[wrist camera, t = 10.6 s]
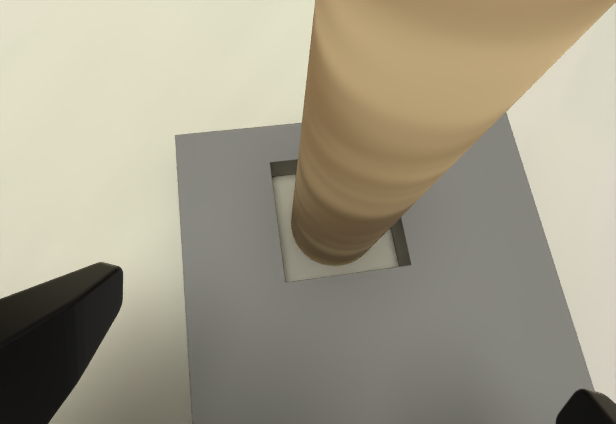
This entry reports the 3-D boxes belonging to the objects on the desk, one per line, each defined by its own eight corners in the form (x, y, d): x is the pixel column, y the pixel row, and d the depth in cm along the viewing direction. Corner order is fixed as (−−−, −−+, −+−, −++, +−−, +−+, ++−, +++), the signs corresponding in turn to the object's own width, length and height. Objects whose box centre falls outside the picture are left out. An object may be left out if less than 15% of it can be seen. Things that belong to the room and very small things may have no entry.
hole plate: (605, 513, 15) (639, 531, 14) (212, 598, 13) (204, 629, 12) (486, 120, 19) (503, 103, 18) (183, 151, 18) (174, 135, 17)
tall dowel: (383, 259, 17) (751, -24, 4) (297, 270, 17) (373, 2, 3) (367, 178, 18) (613, -266, 5) (285, 188, 18) (309, -267, 4)
